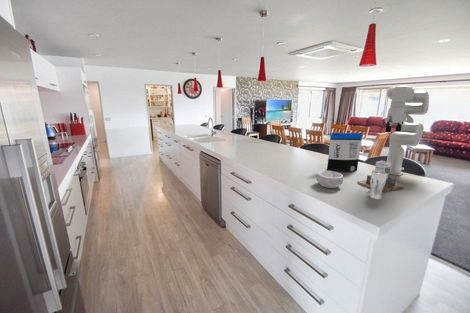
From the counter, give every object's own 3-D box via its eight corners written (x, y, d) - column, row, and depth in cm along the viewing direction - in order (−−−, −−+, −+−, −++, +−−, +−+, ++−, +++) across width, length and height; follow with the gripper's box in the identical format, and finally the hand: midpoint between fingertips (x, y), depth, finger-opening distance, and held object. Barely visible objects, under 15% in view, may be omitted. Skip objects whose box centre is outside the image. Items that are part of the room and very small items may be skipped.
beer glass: (364, 195, 121) (368, 170, 118) (376, 194, 122) (380, 170, 118) (373, 200, 114) (378, 174, 111) (385, 200, 115) (390, 173, 111)
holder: (378, 180, 146) (380, 172, 145) (403, 188, 132) (405, 179, 130) (357, 183, 140) (358, 174, 138) (380, 192, 125) (382, 183, 123)
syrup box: (382, 185, 132) (385, 163, 128) (372, 182, 137) (376, 161, 134) (387, 184, 134) (391, 162, 131) (378, 181, 139) (381, 160, 136)
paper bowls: (311, 183, 139) (312, 172, 137) (328, 180, 145) (329, 169, 143) (329, 191, 126) (330, 179, 124) (347, 188, 131) (349, 176, 130)
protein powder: (360, 172, 165) (366, 133, 158) (329, 171, 165) (333, 133, 158) (353, 168, 174) (359, 132, 167) (324, 168, 174) (328, 132, 167)
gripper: (400, 105, 144) (395, 130, 148) (382, 105, 138) (378, 131, 142) (412, 105, 137) (407, 132, 141) (394, 105, 132) (389, 132, 135)
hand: (392, 131), depth 142 cm, fingers open, 9 cm apart
